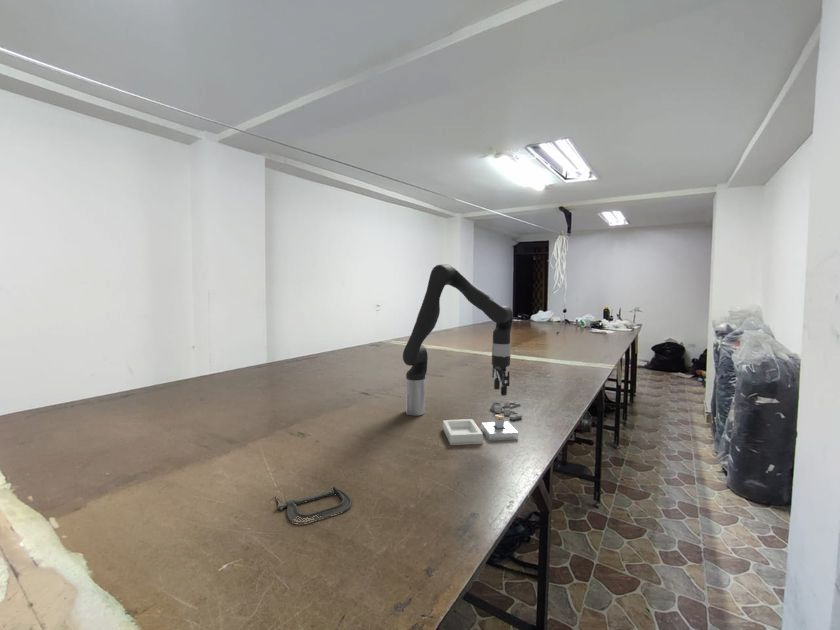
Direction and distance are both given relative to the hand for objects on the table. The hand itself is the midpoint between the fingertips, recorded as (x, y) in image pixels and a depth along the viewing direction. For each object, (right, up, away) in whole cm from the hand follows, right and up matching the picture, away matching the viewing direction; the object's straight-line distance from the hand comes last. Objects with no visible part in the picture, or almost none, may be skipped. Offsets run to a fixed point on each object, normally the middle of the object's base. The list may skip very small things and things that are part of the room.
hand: (500, 392), depth 158 cm
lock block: (0, -18, +2) cm, 18 cm away
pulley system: (+9, -16, +31) cm, 36 cm away
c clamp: (-64, -23, -49) cm, 84 cm away
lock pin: (0, -18, +2) cm, 18 cm away
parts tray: (-16, -18, 0) cm, 24 cm away
